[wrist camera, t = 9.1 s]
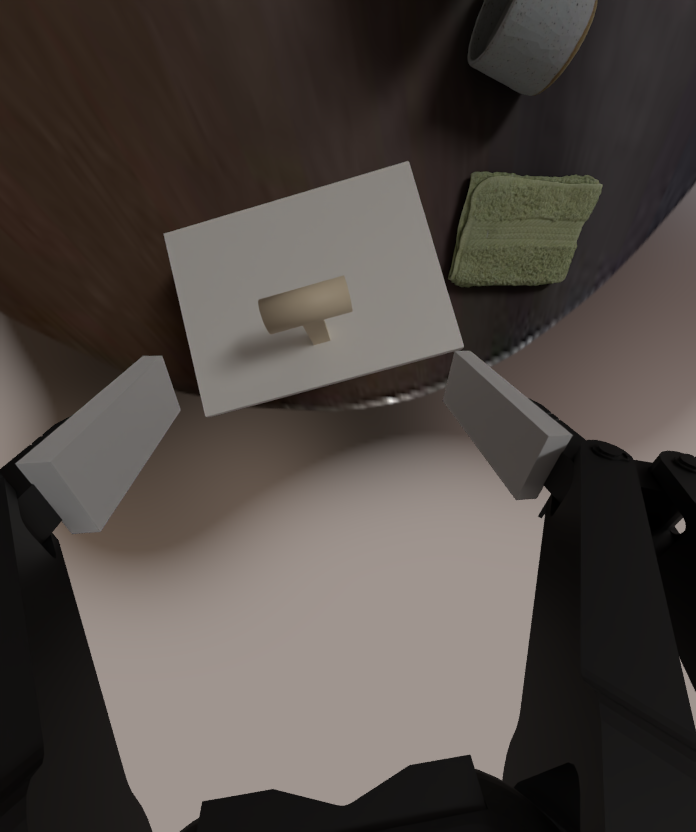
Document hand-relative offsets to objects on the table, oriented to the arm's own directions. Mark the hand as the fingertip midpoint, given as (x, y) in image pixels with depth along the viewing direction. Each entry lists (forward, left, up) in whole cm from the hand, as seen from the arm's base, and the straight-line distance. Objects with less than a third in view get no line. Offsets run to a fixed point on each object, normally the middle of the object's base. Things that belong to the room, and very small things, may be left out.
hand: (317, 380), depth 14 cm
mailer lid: (0, 0, -18) cm, 18 cm away
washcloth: (+3, +28, -32) cm, 43 cm away
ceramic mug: (-16, +26, -32) cm, 44 cm away
